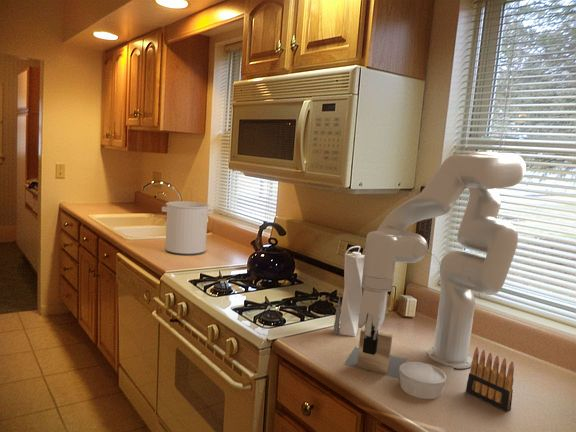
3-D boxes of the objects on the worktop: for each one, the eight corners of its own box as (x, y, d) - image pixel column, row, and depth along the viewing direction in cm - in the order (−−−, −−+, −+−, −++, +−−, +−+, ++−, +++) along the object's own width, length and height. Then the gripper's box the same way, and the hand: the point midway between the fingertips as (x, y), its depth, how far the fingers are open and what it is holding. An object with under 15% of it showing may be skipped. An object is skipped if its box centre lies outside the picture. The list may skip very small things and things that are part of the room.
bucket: (156, 254, 233) (158, 205, 229) (163, 245, 254) (165, 199, 251) (209, 257, 235) (211, 208, 232) (212, 247, 257) (214, 203, 253)
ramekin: (453, 401, 114) (456, 381, 113) (412, 405, 110) (415, 384, 110) (427, 379, 124) (429, 360, 123) (389, 382, 121) (391, 362, 120)
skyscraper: (337, 327, 155) (345, 243, 151) (361, 331, 153) (370, 246, 149) (332, 336, 147) (341, 248, 143) (358, 341, 145) (367, 252, 141)
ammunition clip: (465, 391, 119) (471, 346, 117) (469, 390, 120) (475, 345, 118) (507, 412, 110) (514, 363, 109) (510, 410, 112) (518, 362, 110)
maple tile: (359, 362, 129) (362, 327, 127) (388, 369, 126) (392, 334, 125) (356, 366, 127) (360, 330, 125) (386, 373, 124) (391, 337, 122)
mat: (355, 348, 139) (355, 347, 139) (406, 361, 134) (407, 358, 134) (343, 366, 127) (343, 364, 127) (399, 380, 122) (399, 378, 122)
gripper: (368, 272, 125) (361, 339, 127) (354, 286, 111) (347, 360, 113) (397, 277, 122) (389, 345, 124) (387, 292, 108) (378, 368, 111)
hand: (369, 352), depth 119 cm, fingers closed
